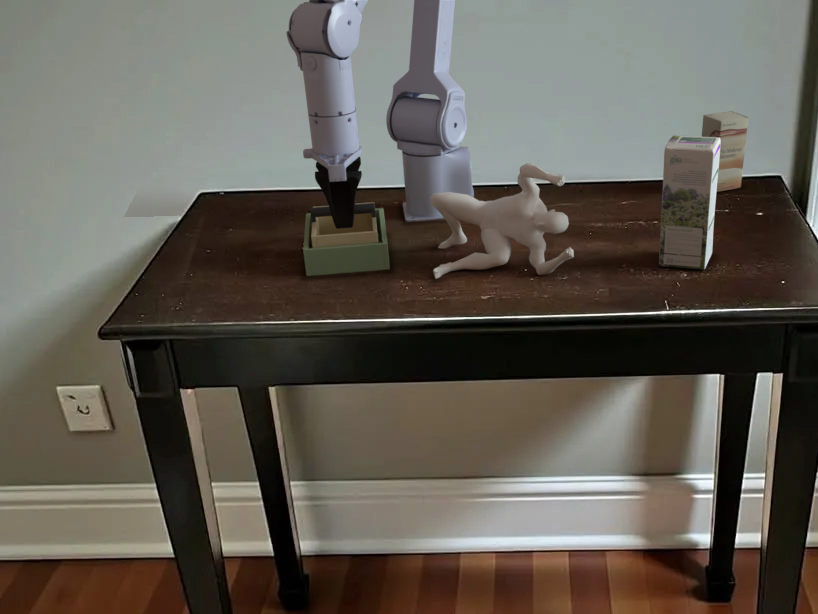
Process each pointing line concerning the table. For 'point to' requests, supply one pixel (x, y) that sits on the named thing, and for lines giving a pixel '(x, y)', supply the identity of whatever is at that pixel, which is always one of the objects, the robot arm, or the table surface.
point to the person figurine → (504, 224)
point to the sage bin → (346, 253)
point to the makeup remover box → (728, 145)
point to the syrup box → (688, 201)
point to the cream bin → (358, 234)
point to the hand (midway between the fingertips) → (344, 222)
